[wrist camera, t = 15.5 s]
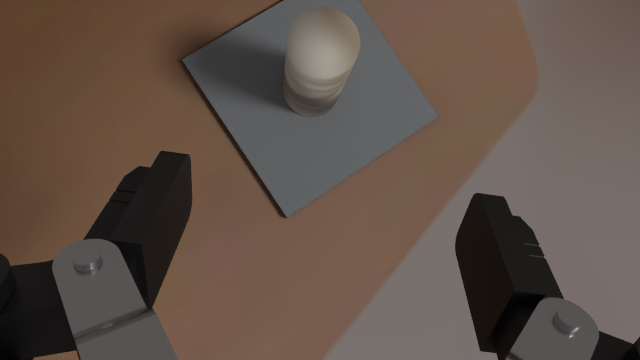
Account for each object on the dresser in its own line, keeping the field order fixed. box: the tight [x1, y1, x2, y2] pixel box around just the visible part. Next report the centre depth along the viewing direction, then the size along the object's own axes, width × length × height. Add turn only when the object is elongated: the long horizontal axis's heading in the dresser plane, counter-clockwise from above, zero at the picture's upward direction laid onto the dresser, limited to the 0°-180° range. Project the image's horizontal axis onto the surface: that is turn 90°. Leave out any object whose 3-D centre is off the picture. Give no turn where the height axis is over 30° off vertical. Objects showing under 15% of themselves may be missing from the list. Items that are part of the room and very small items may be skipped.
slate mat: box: [182, 0, 439, 218], centre depth 41 cm, size 16×16×1 cm
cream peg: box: [283, 6, 360, 117], centre depth 36 cm, size 5×5×10 cm
